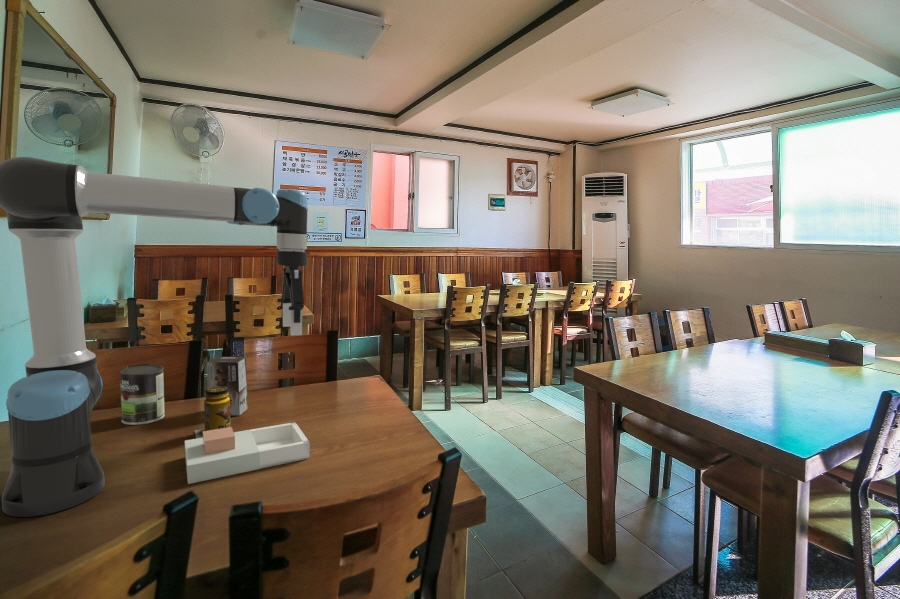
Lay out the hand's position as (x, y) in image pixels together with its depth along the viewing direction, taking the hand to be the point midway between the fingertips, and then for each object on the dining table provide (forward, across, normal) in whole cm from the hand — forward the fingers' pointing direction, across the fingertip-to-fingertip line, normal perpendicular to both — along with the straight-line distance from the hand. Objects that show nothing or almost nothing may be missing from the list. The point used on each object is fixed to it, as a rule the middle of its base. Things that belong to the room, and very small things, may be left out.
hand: (291, 330), depth 122 cm
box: (+27, -13, +5) cm, 31 cm away
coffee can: (+28, +24, +36) cm, 51 cm away
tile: (+23, -14, +18) cm, 33 cm away
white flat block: (+27, -14, +17) cm, 35 cm away
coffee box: (+28, +20, +15) cm, 37 cm away
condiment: (+28, +5, +19) cm, 34 cm away
